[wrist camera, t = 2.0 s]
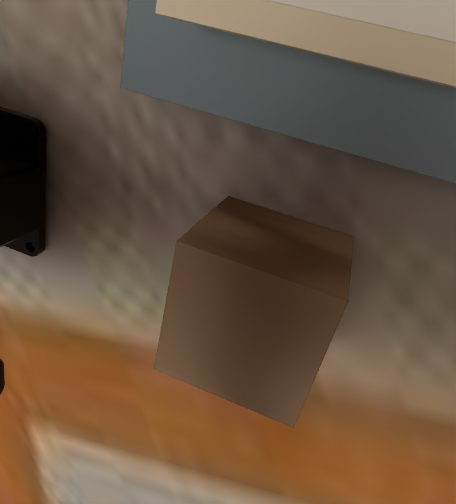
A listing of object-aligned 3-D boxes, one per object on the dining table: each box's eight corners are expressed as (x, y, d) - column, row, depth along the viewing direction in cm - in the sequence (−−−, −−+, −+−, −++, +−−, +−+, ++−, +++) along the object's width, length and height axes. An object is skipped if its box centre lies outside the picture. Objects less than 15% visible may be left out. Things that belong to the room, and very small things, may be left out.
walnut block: (205, 298, 18) (153, 369, 14) (229, 195, 16) (176, 241, 12) (312, 338, 17) (293, 427, 13) (354, 235, 15) (347, 301, 11)
